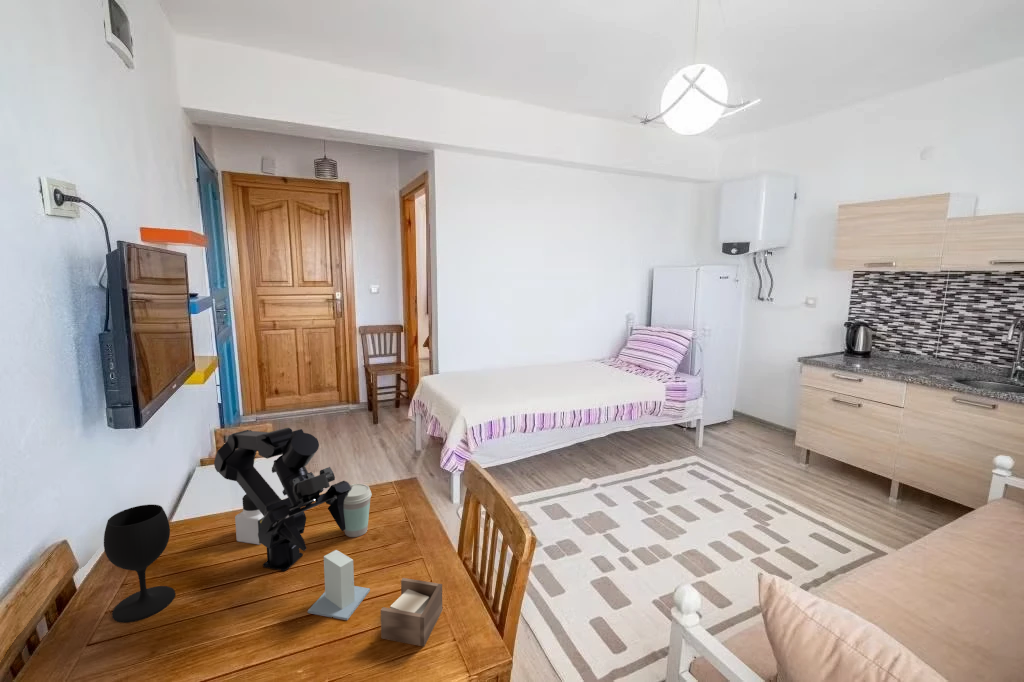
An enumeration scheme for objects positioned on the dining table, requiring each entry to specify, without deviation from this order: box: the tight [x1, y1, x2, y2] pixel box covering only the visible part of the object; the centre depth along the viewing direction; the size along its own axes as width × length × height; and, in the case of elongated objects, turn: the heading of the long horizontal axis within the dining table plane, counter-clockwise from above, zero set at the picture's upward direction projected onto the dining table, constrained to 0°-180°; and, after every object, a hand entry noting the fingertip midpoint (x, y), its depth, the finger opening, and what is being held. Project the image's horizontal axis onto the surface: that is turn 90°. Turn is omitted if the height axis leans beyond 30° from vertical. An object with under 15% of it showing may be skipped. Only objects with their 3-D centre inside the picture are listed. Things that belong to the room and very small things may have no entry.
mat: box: [307, 585, 371, 621], centre depth 96 cm, size 9×9×1 cm
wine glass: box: [103, 504, 176, 624], centre depth 93 cm, size 10×10×20 cm
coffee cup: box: [344, 483, 373, 538], centre depth 122 cm, size 8×8×12 cm
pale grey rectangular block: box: [323, 549, 355, 609], centre depth 95 cm, size 6×3×10 cm, turn 55°
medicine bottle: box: [234, 493, 264, 545], centre depth 119 cm, size 7×7×12 cm
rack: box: [380, 577, 443, 647], centre depth 90 cm, size 9×10×6 cm
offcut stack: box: [389, 589, 429, 614], centre depth 90 cm, size 6×6×4 cm
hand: (325, 539), depth 97 cm, fingers open, 9 cm apart
